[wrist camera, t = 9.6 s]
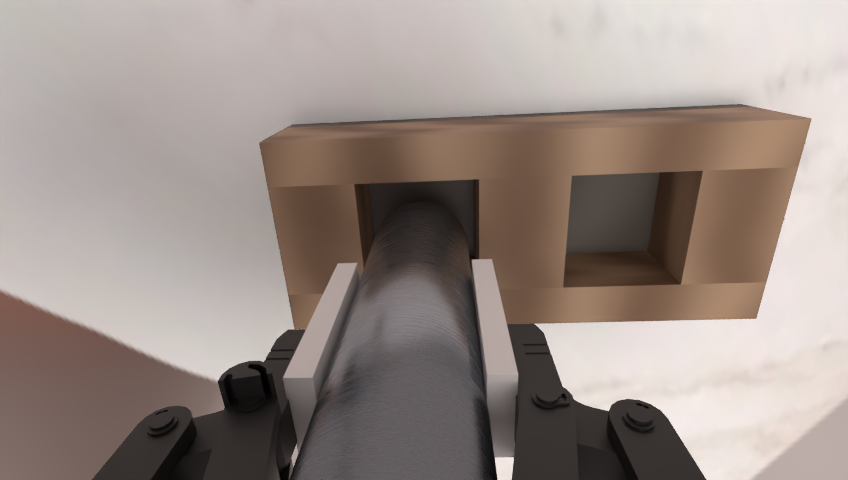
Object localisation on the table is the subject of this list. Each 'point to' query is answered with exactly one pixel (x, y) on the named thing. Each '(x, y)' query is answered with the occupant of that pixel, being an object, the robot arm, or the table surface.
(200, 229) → the table surface
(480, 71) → the table surface
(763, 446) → the table surface
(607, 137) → the bore block
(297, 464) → the pin
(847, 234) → the table surface
